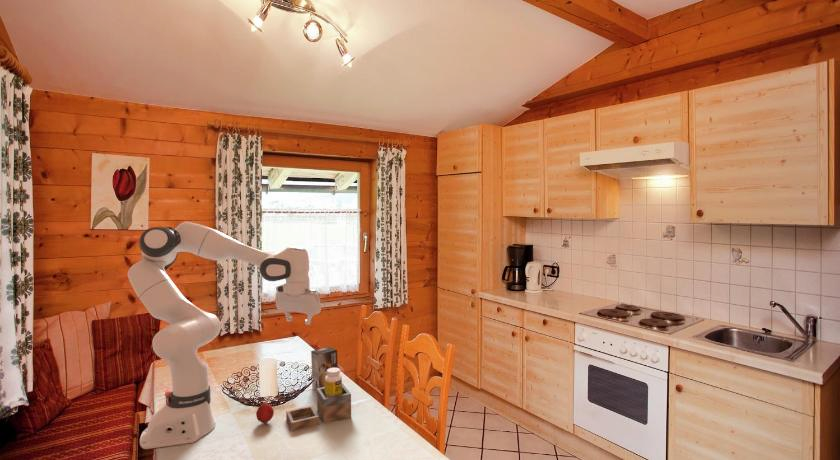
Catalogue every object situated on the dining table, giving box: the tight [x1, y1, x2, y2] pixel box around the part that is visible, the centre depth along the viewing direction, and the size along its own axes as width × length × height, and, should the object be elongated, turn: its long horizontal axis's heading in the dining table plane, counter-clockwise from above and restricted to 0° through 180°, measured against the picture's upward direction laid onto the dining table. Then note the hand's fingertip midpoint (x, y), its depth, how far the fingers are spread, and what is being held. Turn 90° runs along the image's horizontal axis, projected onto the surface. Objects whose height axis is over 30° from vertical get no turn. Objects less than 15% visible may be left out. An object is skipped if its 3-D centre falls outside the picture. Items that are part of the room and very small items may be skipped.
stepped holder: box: [285, 382, 352, 432], centre depth 161 cm, size 21×10×9 cm, turn 117°
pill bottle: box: [325, 367, 343, 398], centre depth 163 cm, size 6×6×11 cm
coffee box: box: [310, 346, 339, 391], centre depth 187 cm, size 9×6×16 cm
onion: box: [255, 401, 275, 424], centre depth 157 cm, size 6×6×8 cm
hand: (298, 322), depth 173 cm, fingers open, 8 cm apart
